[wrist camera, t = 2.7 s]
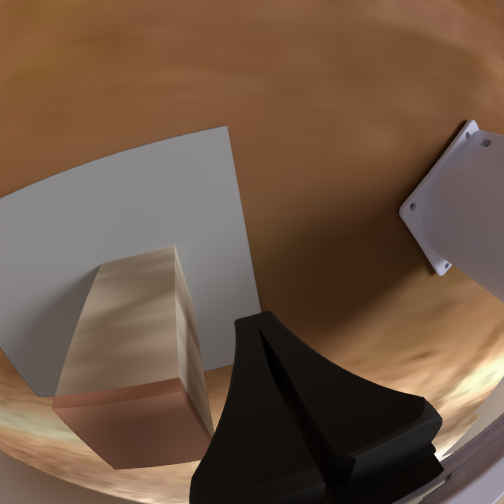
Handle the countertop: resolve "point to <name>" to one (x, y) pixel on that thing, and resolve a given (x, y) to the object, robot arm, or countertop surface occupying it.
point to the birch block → (137, 367)
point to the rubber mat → (123, 246)
